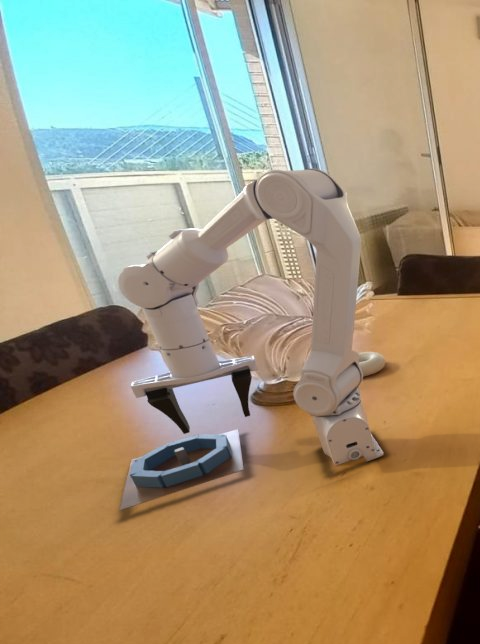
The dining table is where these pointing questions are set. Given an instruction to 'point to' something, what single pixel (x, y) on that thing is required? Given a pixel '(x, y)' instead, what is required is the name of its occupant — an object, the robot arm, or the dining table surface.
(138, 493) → the platform
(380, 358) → the donut
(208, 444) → the ring
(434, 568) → the dining table surface
